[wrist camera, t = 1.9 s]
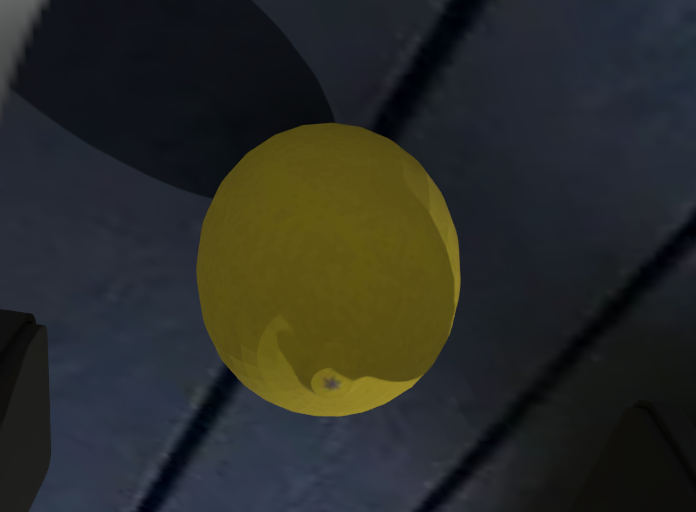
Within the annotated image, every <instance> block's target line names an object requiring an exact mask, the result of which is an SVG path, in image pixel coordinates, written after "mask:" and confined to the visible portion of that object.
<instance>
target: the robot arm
mask: <svg viewBox="0 0 696 512" xmlns="http://www.w3.org/2000/svg"><path fill="white" fill-rule="evenodd" d="M50 458H51V433H50V401H49V370H48V338H47V329H46V326H44V325H38V324H36V320H35V317H34V315H32V314H30V313H23V312H16V311H9V310H2V309H0V512H29V510H30V508H31V505H32V503H33V501H34V499H35V497H36V495H37V493H38V491H39V489H40V487H41V484H42V482H43V480H44V478H45V476H46V473H47V470H48V467H49V463H50ZM569 512H696V429H695V427H694V426H693V424H692V423H691V421H690V420H689V419H688V417H687V416H686V414H685V413H684V411H683V410H682V409H681V408H680V407H679V406H677V405H675V404H670V403H663V402H656V401H649V400H640V401H638V402H637V403H635V405H634V406H633V407H629V408H627V409H626V410H625V411H624V412H623V414H622V416H621V418H620V419H619V421H618V423H617V425H616V427H615V429H614V430H613V432H612V434H611V436H610V438H609V439H608V441H607V443H606V445H605V447H604V449H603V450H602V452H601V454H600V456H599V458H598V459H597V461H596V463H595V465H594V467H593V469H592V470H591V472H590V474H589V476H588V478H587V479H586V481H585V483H584V485H583V487H582V489H581V490H580V492H579V494H578V496H577V498H576V500H575V501H574V503H573V505H572V507H571V509H570V511H569Z"/></svg>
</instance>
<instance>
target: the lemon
mask: <svg viewBox="0 0 696 512" xmlns="http://www.w3.org/2000/svg"><path fill="white" fill-rule="evenodd" d="M197 283H198V290H199V296H200V302H201V309H202V315H203V319H204V323H205V327H206V329H207V331H208V333H209V335H210V337H211V339H212V341H213V343H214V345H215V348H216V350H217V352H218V354H219V356H220V358H221V360H222V361H223V362H224V363H225V364H226V365H227V366H228V368H229V369H230V370H231V371H232V372H233V373H234V374H235V375H236V377H237V378H238V379H239V380H240V381H241V382H242V383H243V384H244V385H245V386H246V387H247V388H249V389H250V390H252V391H253V392H255V393H256V394H257V395H259V396H260V397H262V398H263V399H265V400H267V401H269V402H271V403H273V404H275V405H278V406H280V407H283V408H285V409H288V410H290V411H293V412H298V413H303V414H308V415H313V416H344V415H349V414H355V413H361V412H365V411H367V410H370V409H372V408H375V407H378V406H380V405H383V404H385V403H387V402H389V401H390V400H392V399H393V398H395V397H397V396H398V395H400V394H401V393H403V392H404V391H406V390H408V389H409V388H411V387H412V386H413V385H414V384H415V383H416V382H417V381H418V380H419V379H420V378H421V377H422V376H423V375H424V374H425V373H426V372H427V371H428V370H429V368H430V367H431V366H432V364H433V363H434V362H435V360H436V358H437V357H438V355H439V353H440V351H441V350H442V348H443V346H444V344H445V342H446V341H447V338H448V336H449V334H450V331H451V327H452V323H453V319H454V315H455V311H456V307H457V303H458V298H459V292H460V263H459V246H458V238H457V234H456V230H455V227H454V224H453V221H452V219H451V216H450V213H449V211H448V208H447V205H446V203H445V200H444V198H443V196H442V193H441V192H440V190H439V189H438V187H437V186H436V185H435V183H434V182H433V181H432V179H431V178H430V176H429V175H428V174H427V172H426V171H425V170H424V168H423V167H422V166H421V164H420V163H419V162H418V161H417V160H416V159H415V158H414V157H412V156H411V155H410V154H408V153H407V152H406V151H405V150H403V149H402V148H401V147H399V146H398V145H397V144H396V143H394V142H393V141H392V140H390V139H388V138H386V137H383V136H381V135H378V134H376V133H374V132H371V131H369V130H367V129H364V128H362V127H356V126H350V125H344V124H337V123H323V124H311V125H302V126H299V127H296V128H293V129H290V130H288V131H285V132H282V133H279V134H276V135H274V136H272V137H271V138H269V139H268V140H266V141H265V142H263V143H262V144H260V145H259V146H257V147H256V148H254V149H253V150H251V151H250V152H248V153H247V154H246V155H245V156H244V157H243V158H242V159H241V160H240V162H239V163H238V164H237V165H236V166H235V167H234V168H233V169H232V171H231V172H230V173H229V174H228V175H227V176H226V177H225V178H224V180H223V181H222V183H221V184H220V186H219V188H218V190H217V192H216V194H215V196H214V199H213V201H212V203H211V205H210V207H209V209H208V211H207V214H206V216H205V219H204V221H203V226H202V230H201V237H200V244H199V251H198V258H197Z"/></svg>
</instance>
